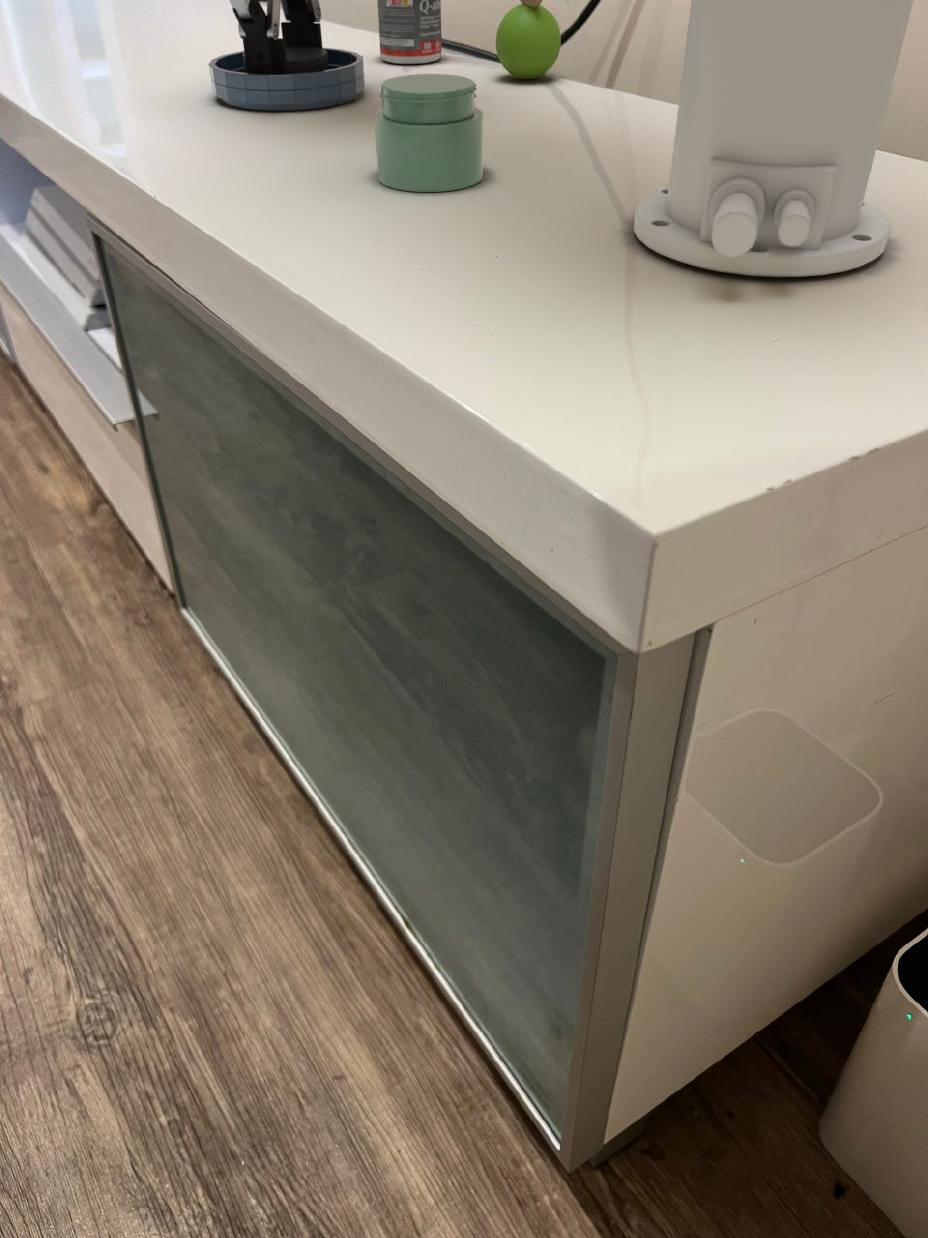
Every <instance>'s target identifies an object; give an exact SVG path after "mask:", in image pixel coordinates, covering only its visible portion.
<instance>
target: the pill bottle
mask: <svg viewBox="0 0 928 1238" xmlns="http://www.w3.org/2000/svg"><path fill="white" fill-rule="evenodd" d="M376 1H377V20H378V21H377V22H378V38H379V39H378V40H379V54H380V57H381V59H382V60H383V61H385V62H386V63H391V64H398V65H421V64H422V65H423V64H428V63H429V64H430V63H433V62H436V61H439V60H440V59H441V57H442V50H443V49H442V47H443V46H442V5H441V4H442V3H441V2H442V1H441V0H376Z"/></svg>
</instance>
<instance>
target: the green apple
mask: <svg viewBox="0 0 928 1238" xmlns="http://www.w3.org/2000/svg"><path fill="white" fill-rule="evenodd" d="M519 1H520V4H518V5H516V6H514V7H513V8H511V9H510V10H509V11H507V13H505V15H504V16H503V17H502V19H501V20H500V23H499V25H498V27H497V30H496V35H495V49H496V54H497V58H498V60H499V62H500V64H501V65H502V67H503V69H505V71H507V73H509V74H510V75H512V76H513V77H515V78H518V79H521V80H532V79H533V80H534V79H537V78H539V77H541V76H544V75H545V74H546V73H547V72H548V71H549V70H550V69H551V68H552V67H553V66H554V64H555V63H556V61H557V59H558V56H559V53H560V51H561V45H562V43H561V42H562V36H561V29H560V26H559V23H558V22H557V19H556V17H555V16H554V15H553V14H552V12H551V11H550V10H549V9H548V8H546V7H544V6H543V5H541V4H542V3H543V0H519Z"/></svg>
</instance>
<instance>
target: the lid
mask: <svg viewBox="0 0 928 1238" xmlns="http://www.w3.org/2000/svg"><path fill="white" fill-rule="evenodd" d="M322 48H323V47H322ZM322 48H317V47H310V46H286V54H287V63H288V72H289V74H295V73H307V72H317V71H324V70H329V67H328V56H327V51H326V50H324V49H322ZM243 62H244V69H245V73H247V68H246V61H245V53H243Z"/></svg>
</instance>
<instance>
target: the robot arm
mask: <svg viewBox="0 0 928 1238" xmlns="http://www.w3.org/2000/svg"><path fill="white" fill-rule="evenodd" d="M228 1H229V2H230V4H231V6H232V12H233V15H234V17H235V19H236V20H237V22H238V26H237V28H238V34H239V37H240V39H241V40H242V45H243V51H244V53H245V61H246V68H247V73H253V74H289V72H288V63H287V54H286V46H310V47H317V48H322V49H323V48H324V47H323V39H322V27H321V20H322V9H321V5H320V2H319V1H320V0H228ZM261 3H266V12H265V10H264V8H263V7H262V4H261ZM913 4H914V0H690V8H689V17H688V24H687V33H686V41H685V48H684V49H685V50H684V57H683V65H682V73H681V81H680V89H679V96H678V97H679V98H678V106H677V114H676V122H675V130H674V138H673V147H672V152H671V153H672V154H671V163H670V170H669V179H668V186H666V187H662V188H660V189H657V190H655V191H652V192H651V193H649V194H647V195H645V196H644V197H643V198H642V199H641V200H640V201H639V202H638V203H637V204H636V207H635V209H634V217H633V232H634V233H635V235H636V237H637V239H638V240H639V241H640V242H641V243H642V244H643V245H645V246H646V247H647V248H648V249H650V250H652V251H653V252H655V253H657V254H659V255H661V256H663V257H666V258H668V259H671V260H672V261H676V262H678V263H682V264H686V265H689V266H693V267H696V268H700V269H704V270H710V271H715V272H719V273H727V274H728V273H729V274H736V275H741V276H742V275H743V276H752V277H768V278H769V277H770V278H801V277H816V276H825V275H830V274H832V275H833V274H837V273H838V274H839V273H844V272H847V271H851V270H854V269H858V268H861V267H863V266H865V265H867V264H869V263H871V262H873V261H875V260H876V259H877V258H878V257H880V256H881V255H882V254H883V253H884V251H885V249H886V246H887V245H888V244H887V243H888V241H889V237H890V233H891V223H890V221H889V220H888V218H887V216H886V215H885V214H884V213H883V212H882V211H880V209H878V207H875V206H874V205H872V204H871V203H868V202H866V201H865V196H866V193H867V192H866V191H867V188H868V184H869V180H870V176H871V172H872V167H873V163H874V160H875V156H876V151H877V147H878V143H879V140H880V137H881V131H882V128H883V124H884V120H885V115H886V111H887V107H888V103H889V99H890V95H891V92H892V87H893V84H894V80H895V76H896V71H897V67H898V63H899V59H900V56H901V51H902V48H903V44H904V40H905V36H906V32H907V28H908V23H909V20H910V15H911V13H912V12H911V11H912V7H913ZM281 9H282V12H283V16H284V19H285V21H282V22H281ZM280 28H281V29H280ZM280 30H281V37H282V38H281V37H280Z"/></svg>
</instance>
